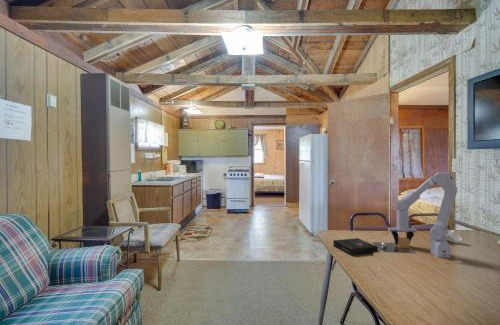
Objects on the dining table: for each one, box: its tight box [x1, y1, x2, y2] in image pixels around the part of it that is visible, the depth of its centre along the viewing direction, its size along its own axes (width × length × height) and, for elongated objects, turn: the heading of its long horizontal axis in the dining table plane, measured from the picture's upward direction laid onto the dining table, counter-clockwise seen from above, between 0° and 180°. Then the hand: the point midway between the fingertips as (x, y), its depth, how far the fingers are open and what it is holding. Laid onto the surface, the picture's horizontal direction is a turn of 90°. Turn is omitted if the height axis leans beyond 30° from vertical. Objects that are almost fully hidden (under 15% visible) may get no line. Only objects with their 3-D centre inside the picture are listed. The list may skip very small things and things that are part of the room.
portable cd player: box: [333, 237, 379, 257], centre depth 162 cm, size 16×17×4 cm
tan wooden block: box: [395, 235, 411, 248], centre depth 165 cm, size 6×6×5 cm
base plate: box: [371, 241, 417, 254], centre depth 162 cm, size 18×18×4 cm
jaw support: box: [446, 227, 463, 245], centre depth 177 cm, size 12×9×10 cm
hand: (402, 244), depth 165 cm, fingers closed on tan wooden block, 6 cm apart
